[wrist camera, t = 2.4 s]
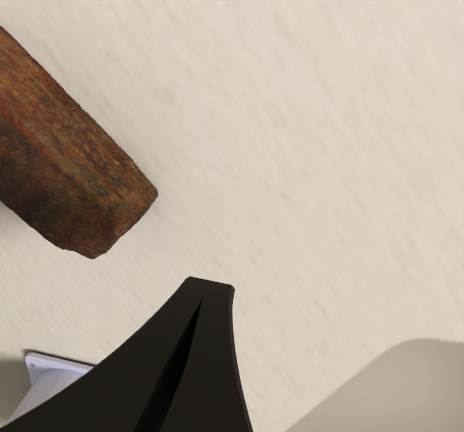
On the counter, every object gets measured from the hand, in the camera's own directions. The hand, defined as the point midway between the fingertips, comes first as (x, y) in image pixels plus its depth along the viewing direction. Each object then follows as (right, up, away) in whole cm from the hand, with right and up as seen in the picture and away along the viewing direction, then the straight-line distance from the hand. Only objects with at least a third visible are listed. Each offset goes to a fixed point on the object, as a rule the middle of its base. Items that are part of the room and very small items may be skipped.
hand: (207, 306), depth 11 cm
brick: (-8, +7, +9) cm, 13 cm away
